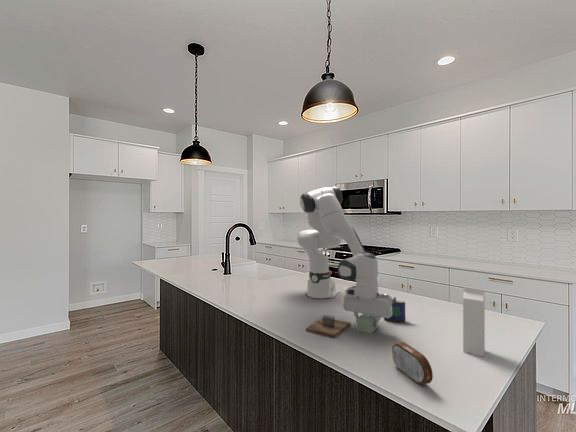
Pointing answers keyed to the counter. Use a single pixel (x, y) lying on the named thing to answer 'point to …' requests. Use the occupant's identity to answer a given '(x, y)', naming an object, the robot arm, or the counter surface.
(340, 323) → the board
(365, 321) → the pale green block
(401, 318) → the flask
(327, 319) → the grey block
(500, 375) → the counter surface
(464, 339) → the milk
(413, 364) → the tin
